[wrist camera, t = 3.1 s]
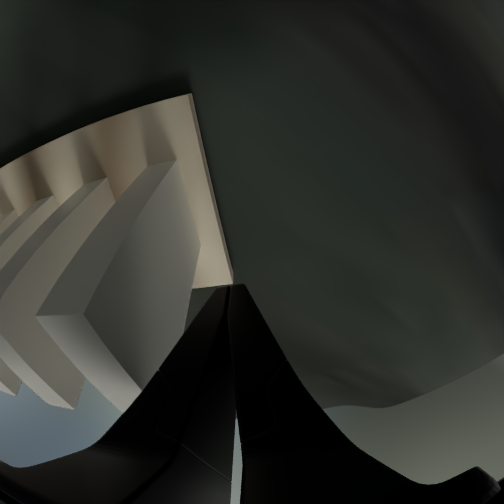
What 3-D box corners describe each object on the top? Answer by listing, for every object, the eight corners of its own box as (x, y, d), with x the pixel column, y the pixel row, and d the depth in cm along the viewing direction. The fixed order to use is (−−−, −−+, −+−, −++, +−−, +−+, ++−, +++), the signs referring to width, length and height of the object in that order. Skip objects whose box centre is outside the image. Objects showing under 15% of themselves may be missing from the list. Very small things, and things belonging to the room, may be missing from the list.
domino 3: (177, 159, 13) (83, 313, 5) (200, 245, 16) (169, 419, 8) (147, 166, 13) (34, 315, 5) (173, 249, 16) (126, 417, 8)
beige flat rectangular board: (191, 93, 12) (187, 94, 12) (233, 273, 19) (232, 283, 18) (-44, 197, 14) (-51, 203, 13) (9, 298, 20) (4, 305, 19)
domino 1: (53, 194, 14) (-56, 316, 6) (85, 263, 17) (16, 395, 8) (36, 201, 14) (-67, 315, 6) (68, 266, 17) (-1, 390, 9)
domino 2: (106, 177, 14) (-13, 316, 5) (136, 255, 16) (75, 409, 8) (83, 184, 14) (-34, 316, 6) (114, 258, 17) (48, 404, 8)
